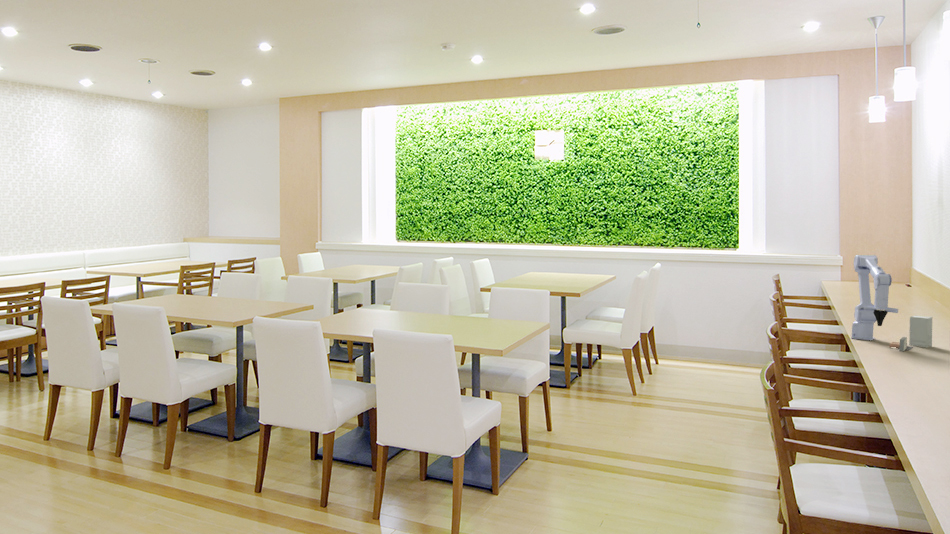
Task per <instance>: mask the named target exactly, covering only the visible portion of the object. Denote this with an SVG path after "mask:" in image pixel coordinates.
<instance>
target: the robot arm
mask: <svg viewBox="0 0 950 534" xmlns="http://www.w3.org/2000/svg"><path fill="white" fill-rule="evenodd" d="M853 258H854V259H853V269H854V272H856V273H857V277H858V278H857V279H858V288H859V289H858V290H859V300H860V302H859V304H857V305H856V306H855V307H854V317H853V318H854V320H853V323H852V325H851V337H850V339H856V340H864V341H869V340H870V341H871V340H872V341H874V340H875V339H876V337H874V324H876V323H877V326H878V327H881V326H883V323H884V320H885V318H886V316H887V315H888V313H895V314H898V313H899V308H895V307H894V308H893V307H889V293H890V291H889V289H890V286H891V285H892V283H893V282H892V280H893V279H892V276H891V273H886V271H884V269H883V268H882V266H880V265H878V262H879V261H878V256H877V255H876V254H873V255H869V254H868V255H866V254H863V255H862V254H856V255H854V257H853ZM869 274H870V275H871V277H872V278H873V286H874V287H873V288H874V304H873V303H872V299H871V287H870V275H869ZM873 339H874V340H873ZM872 341H871V342H872Z"/></svg>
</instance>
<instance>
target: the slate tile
mask: <svg viewBox="0 0 950 534" xmlns="http://www.w3.org/2000/svg"><path fill="white" fill-rule="evenodd" d="M907 341H908V338H907V337H906V336H902V337H901V338H900V339H899V343H900V349H898V350H899V351H898V352H901V351H902V352H903V351H904V352H905V351H907V350H906V347H907V346H908V342H907ZM904 352H903V353H904Z"/></svg>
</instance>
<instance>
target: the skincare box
mask: <svg viewBox="0 0 950 534" xmlns="http://www.w3.org/2000/svg"><path fill="white" fill-rule="evenodd" d="M908 342H909V343H908V344H909V346H912V345H913V346H912V347H920V348H927V349H928V348H931V346H933V317H932V316H925V315H924V316H923V315H912V316H909V341H908Z"/></svg>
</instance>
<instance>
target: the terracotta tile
mask: <svg viewBox="0 0 950 534" xmlns="http://www.w3.org/2000/svg"><path fill="white" fill-rule="evenodd" d="M890 347H896V348H900V341H898V342H897V341H891V342H890V343H889V348H890Z"/></svg>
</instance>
